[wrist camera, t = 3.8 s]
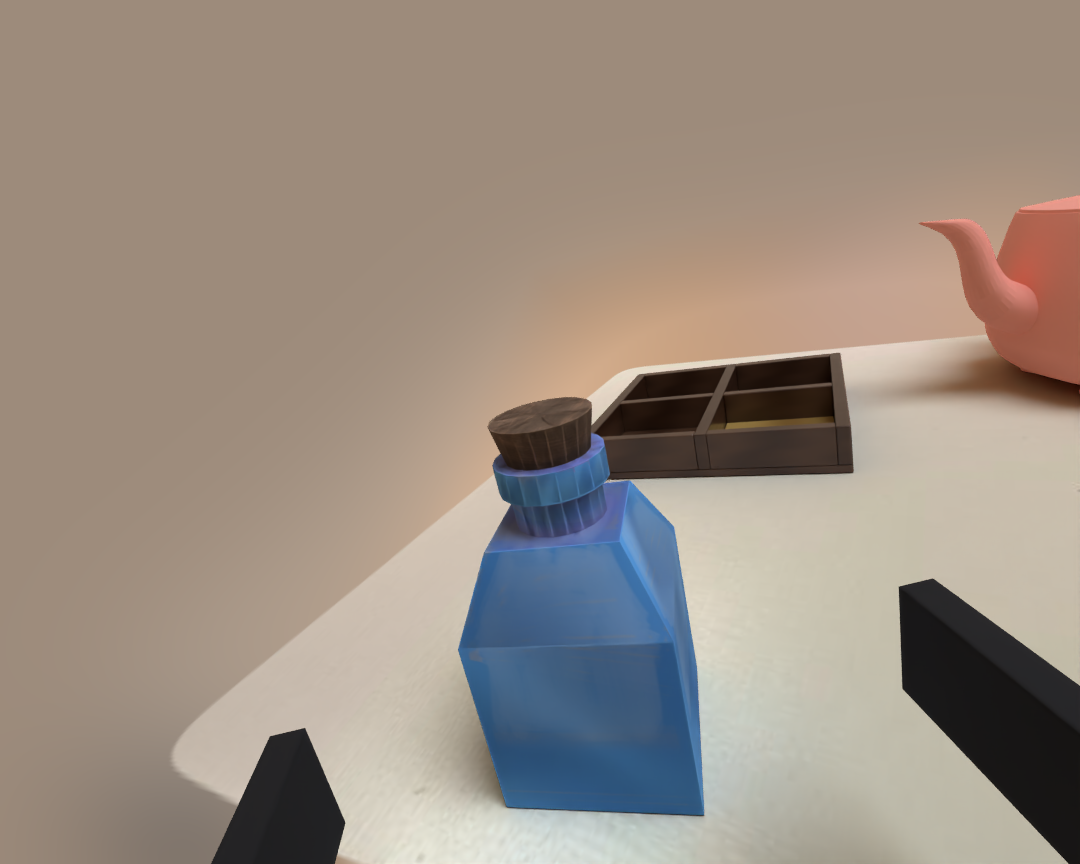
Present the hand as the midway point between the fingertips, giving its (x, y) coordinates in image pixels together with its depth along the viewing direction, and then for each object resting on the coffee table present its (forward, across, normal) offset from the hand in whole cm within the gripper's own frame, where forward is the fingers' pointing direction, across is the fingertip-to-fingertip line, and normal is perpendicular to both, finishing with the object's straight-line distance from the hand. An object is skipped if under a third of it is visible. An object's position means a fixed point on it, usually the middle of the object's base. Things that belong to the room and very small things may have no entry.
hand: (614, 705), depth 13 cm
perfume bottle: (+6, 0, -7) cm, 10 cm away
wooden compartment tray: (+33, +14, -7) cm, 36 cm away
